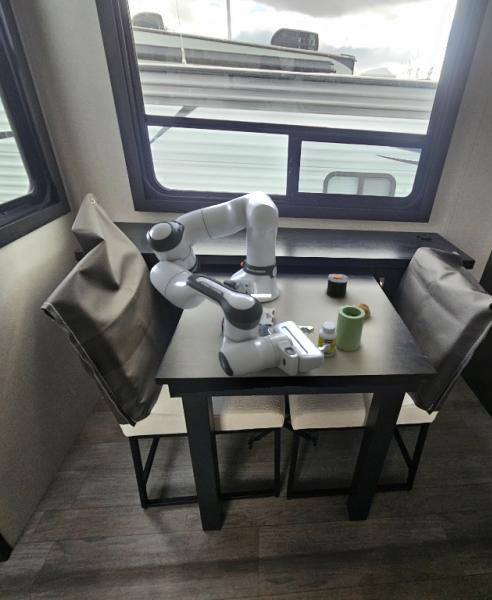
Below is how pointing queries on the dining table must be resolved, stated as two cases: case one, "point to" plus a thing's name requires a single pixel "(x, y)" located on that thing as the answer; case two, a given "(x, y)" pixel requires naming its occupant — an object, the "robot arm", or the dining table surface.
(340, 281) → the sushi
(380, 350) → the dining table surface
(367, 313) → the pastry
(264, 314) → the candy bar box
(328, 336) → the supplement bottle
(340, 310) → the green vase
